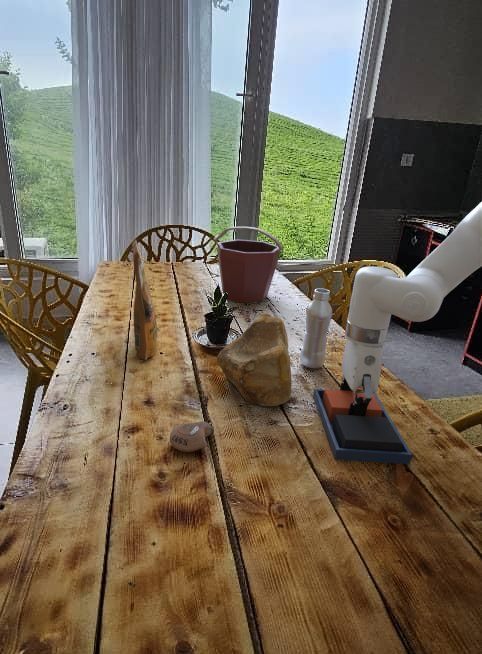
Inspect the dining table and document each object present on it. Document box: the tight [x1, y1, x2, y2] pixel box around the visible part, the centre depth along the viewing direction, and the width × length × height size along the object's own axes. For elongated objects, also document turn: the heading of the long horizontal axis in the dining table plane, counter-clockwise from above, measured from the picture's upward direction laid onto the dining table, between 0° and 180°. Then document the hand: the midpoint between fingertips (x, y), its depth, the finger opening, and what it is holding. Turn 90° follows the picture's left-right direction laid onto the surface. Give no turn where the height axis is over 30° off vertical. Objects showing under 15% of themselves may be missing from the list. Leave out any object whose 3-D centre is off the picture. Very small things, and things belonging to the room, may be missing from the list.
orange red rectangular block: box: [323, 388, 382, 422], centre depth 92 cm, size 10×7×4 cm
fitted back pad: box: [333, 414, 402, 452], centre depth 83 cm, size 10×8×4 cm
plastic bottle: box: [299, 288, 333, 369], centre depth 110 cm, size 6×7×20 cm
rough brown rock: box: [216, 312, 292, 407], centre depth 100 cm, size 23×17×15 cm
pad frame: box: [312, 388, 413, 465], centre depth 88 cm, size 13×21×2 cm, turn 177°
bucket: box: [213, 226, 284, 304], centre depth 160 cm, size 24×22×25 cm
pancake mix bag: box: [131, 239, 158, 361], centre depth 114 cm, size 7×19×28 cm, turn 2°
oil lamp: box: [169, 420, 215, 453], centre depth 82 cm, size 9×4×8 cm
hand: (350, 409), depth 92 cm, fingers closed on orange red rectangular block, 7 cm apart
